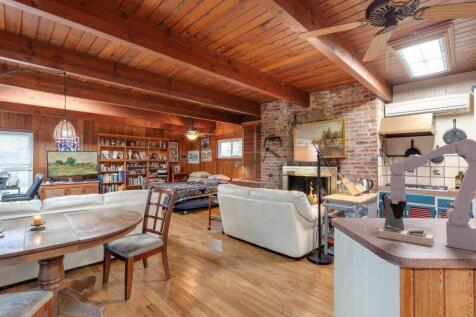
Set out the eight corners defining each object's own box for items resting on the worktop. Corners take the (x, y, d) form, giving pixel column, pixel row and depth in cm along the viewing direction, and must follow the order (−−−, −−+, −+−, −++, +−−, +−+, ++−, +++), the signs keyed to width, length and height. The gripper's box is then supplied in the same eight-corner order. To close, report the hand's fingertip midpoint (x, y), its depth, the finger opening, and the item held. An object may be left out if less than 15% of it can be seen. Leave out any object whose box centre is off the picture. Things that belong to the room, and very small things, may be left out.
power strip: (433, 241, 104) (433, 234, 104) (432, 245, 99) (431, 237, 99) (381, 233, 118) (381, 226, 118) (377, 236, 113) (377, 229, 113)
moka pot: (398, 232, 119) (396, 192, 120) (374, 225, 134) (373, 190, 135) (413, 231, 121) (412, 192, 122) (388, 224, 136) (387, 189, 137)
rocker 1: (399, 230, 111) (399, 228, 111) (398, 231, 109) (398, 229, 109) (387, 226, 115) (387, 225, 114) (386, 227, 112) (386, 226, 112)
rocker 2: (423, 231, 105) (423, 229, 105) (423, 233, 103) (422, 231, 103) (410, 231, 108) (410, 229, 108) (409, 233, 106) (409, 231, 106)
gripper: (391, 187, 119) (392, 214, 118) (384, 189, 108) (385, 219, 108) (408, 187, 114) (409, 216, 113) (402, 189, 103) (403, 221, 103)
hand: (398, 217), depth 110 cm, fingers open, 5 cm apart
